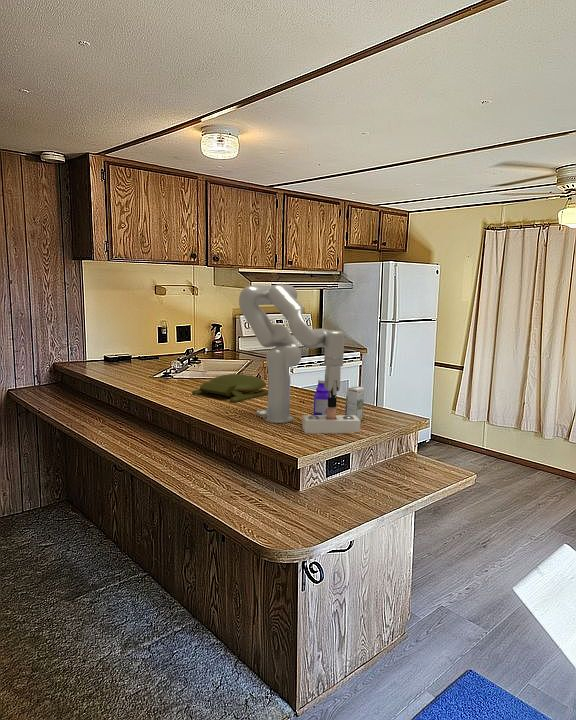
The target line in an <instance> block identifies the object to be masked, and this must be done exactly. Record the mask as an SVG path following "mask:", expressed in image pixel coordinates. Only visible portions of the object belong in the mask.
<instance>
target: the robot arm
mask: <svg viewBox="0 0 576 720" xmlns="http://www.w3.org/2000/svg"><path fill="white" fill-rule="evenodd" d="M297 299H298V291H297V289H296V288H295V287H294V286H293V285H290V284H279V283H278V284H274V285H266V284H265V285H258V284H257V285H255V284H253V285H248V286H245V287H243V288H242V289H241V291H240V294H239V296H238V305H239V309H240V311H241V313H242V316H243V317H244V318H245V320H246V321H247V323H248V325H249V326H250V329H252V332H253V333H254V336H255V337H256V339H257V341H258V343H259V344H260V345H261V346H262V347H264V348H270V350H269V351H268V352H267V353H266V357H265V358H266V359H265V361H266V367H267V377H268V378H267V391H268V394H267V407H266V409H262V410H256V415H258V416H263V420H264V421H265V422H268V423H272V424H288V423H291V422H293V421H294V417H293V416H292V415H290V413H291V412H290V411H291V410H290V406H291V402H290V401H291V375H290V374H291V373H290V372H289V368H292V367H296V366H298V365H299V364H300V362H301V360H302V352H301V349H300V347H299V345H298V344H297V342H296V341H295V339H296V340H297V341H298V342H299V343H300V345H302V346H303V347H305V348H307V349H309V350H310V349H312V350H313V349H318V348H324V357H323V366H325V369H324V370H325V371H324V379H325V381H324V387H325V389H326V390H327V391H328V407H331V408H337V394H338V392H340V389H341V367H343V366H344V356H345V355H344V354H345V353H344V351H345V350H344V349H345V333H344V331H342V330H333V329H332V330H330V329H327V328H311V327H310V326H309V325H308V324H307V323H306V322H305V321H304V319H303V317H302V315H303V313H304V309H305V308H304V306H303V305H302V304H301V302H299V301H298V300H297ZM266 305H267V306H268V305H269V306H271V305H272V306H274V307H275V309H277V310H278V312H279V313H280V314H281V315H282V316H283V317H284V318H285V320H287V322H288V324H287V325H288V327H289V329H288V328H287V327H286V326H284V325H283V324H279V323H277V324H273V323H272V322H271V320H270V318H269V317H268V315H267V313H266V312H265V311H264V310H263V309H262V308H261V307H260V306H266ZM289 330H290V331H289ZM294 338H295V339H294Z"/></svg>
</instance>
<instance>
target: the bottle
mask: <svg viewBox="0 0 576 720" xmlns="http://www.w3.org/2000/svg"><path fill="white" fill-rule="evenodd" d="M324 381H325V378H319V379H318V381H317V387H316V389H315V393H314V395H313V407H312V408H313V410H312V415H327V408H328V391H327V390H326V389H325V387H324Z"/></svg>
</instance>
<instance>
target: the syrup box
mask: <svg viewBox="0 0 576 720" xmlns="http://www.w3.org/2000/svg"><path fill="white" fill-rule="evenodd" d="M364 402H365V388H364V387H361V386H357V385H355V386H354V385H353V386H350V387H347V388H346V394H345V411H344V415H356V416H357V418H358V419H359V420H360V421H363V417H364Z"/></svg>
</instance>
